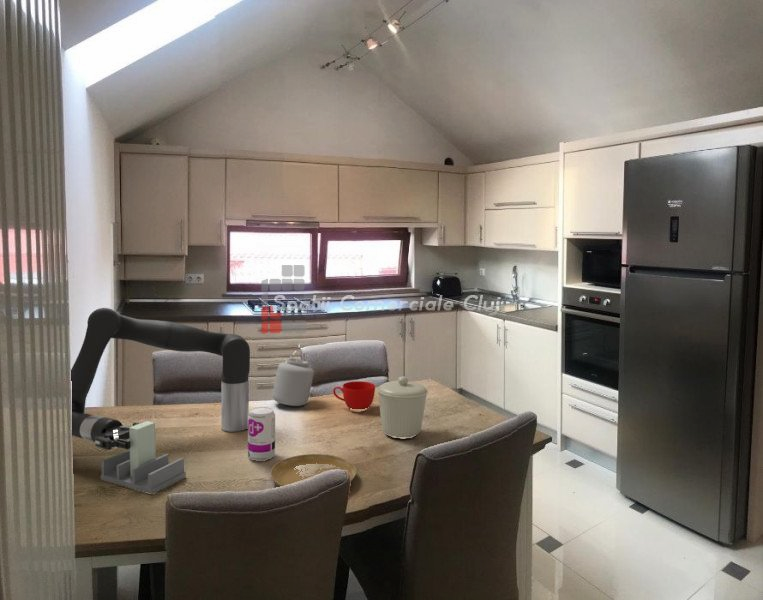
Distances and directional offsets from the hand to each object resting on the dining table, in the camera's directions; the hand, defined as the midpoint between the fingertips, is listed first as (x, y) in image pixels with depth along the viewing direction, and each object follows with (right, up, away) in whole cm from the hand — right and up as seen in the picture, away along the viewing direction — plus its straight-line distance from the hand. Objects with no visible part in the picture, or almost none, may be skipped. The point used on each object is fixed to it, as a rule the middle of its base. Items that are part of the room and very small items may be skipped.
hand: (142, 440), depth 149 cm
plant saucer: (+47, -13, +3) cm, 49 cm away
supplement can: (+29, -10, +18) cm, 36 cm away
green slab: (0, -10, +1) cm, 10 cm away
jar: (+31, -4, +71) cm, 78 cm away
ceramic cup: (+55, -5, +67) cm, 87 cm away
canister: (+74, -9, +41) cm, 85 cm away
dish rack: (0, -11, +1) cm, 11 cm away
